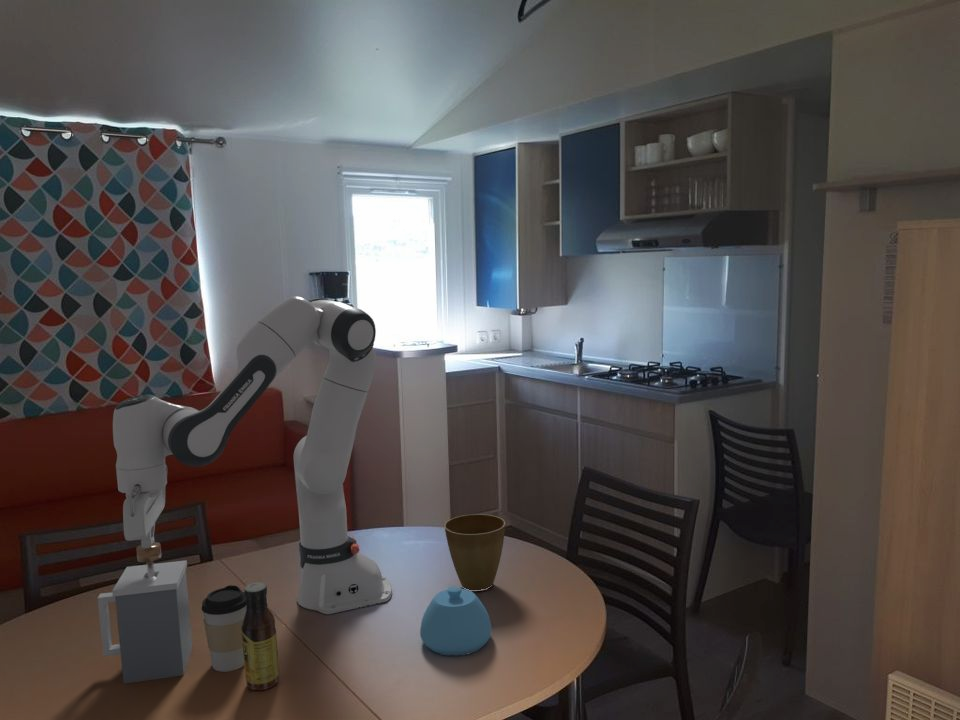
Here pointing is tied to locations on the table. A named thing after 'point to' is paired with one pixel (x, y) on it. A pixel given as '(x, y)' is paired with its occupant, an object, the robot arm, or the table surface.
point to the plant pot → (475, 548)
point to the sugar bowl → (455, 623)
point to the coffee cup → (225, 627)
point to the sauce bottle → (259, 640)
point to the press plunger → (149, 556)
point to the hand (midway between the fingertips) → (148, 546)
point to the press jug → (149, 622)
